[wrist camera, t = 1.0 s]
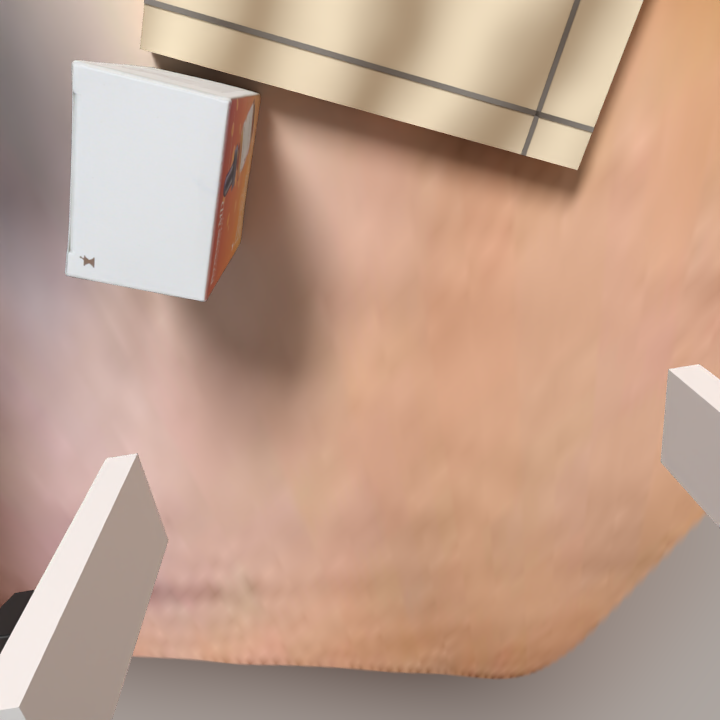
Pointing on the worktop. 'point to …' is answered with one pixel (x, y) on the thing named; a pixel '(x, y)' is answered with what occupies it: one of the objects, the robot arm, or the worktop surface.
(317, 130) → the worktop surface
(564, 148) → the board
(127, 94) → the small box
